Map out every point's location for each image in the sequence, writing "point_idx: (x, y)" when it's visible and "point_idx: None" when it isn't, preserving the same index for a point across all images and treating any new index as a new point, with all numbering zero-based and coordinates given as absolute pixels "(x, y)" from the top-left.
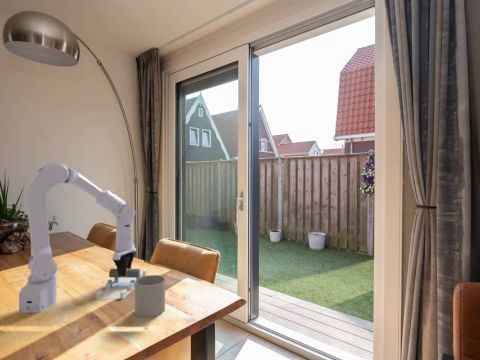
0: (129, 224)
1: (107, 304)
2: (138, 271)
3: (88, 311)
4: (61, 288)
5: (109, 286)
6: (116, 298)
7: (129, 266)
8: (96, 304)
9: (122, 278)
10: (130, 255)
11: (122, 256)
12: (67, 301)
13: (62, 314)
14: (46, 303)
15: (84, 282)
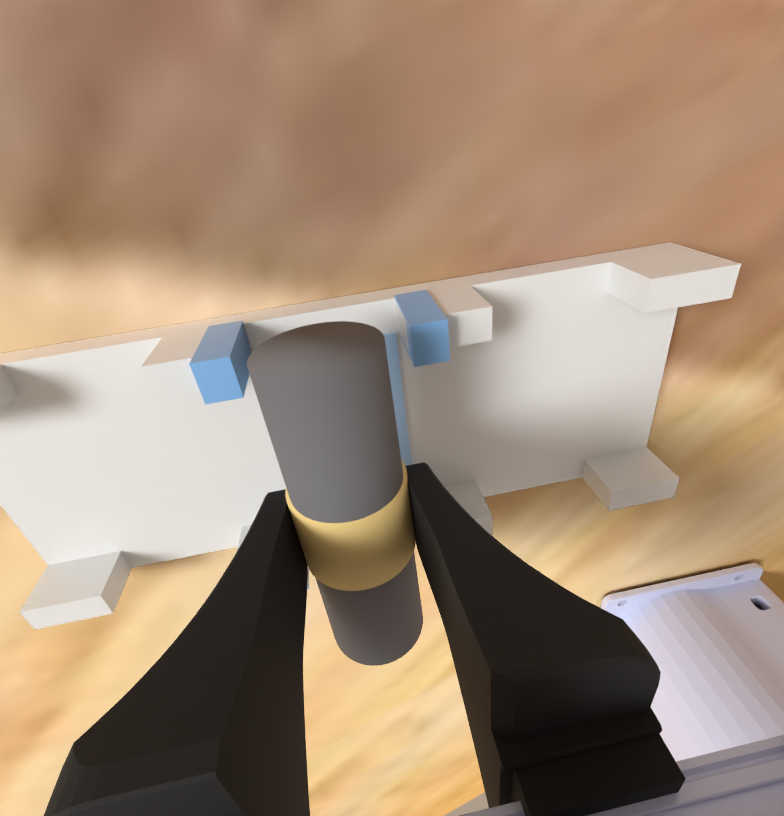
0: None
1: (687, 348)
2: (329, 359)
3: (770, 401)
4: (421, 701)
5: (469, 499)
6: (666, 319)
7: (280, 553)
8: (670, 419)
9: (197, 531)
10: (251, 752)
11: (666, 775)
12: (596, 581)
13: (764, 500)
14: (741, 615)
15: (311, 680)
